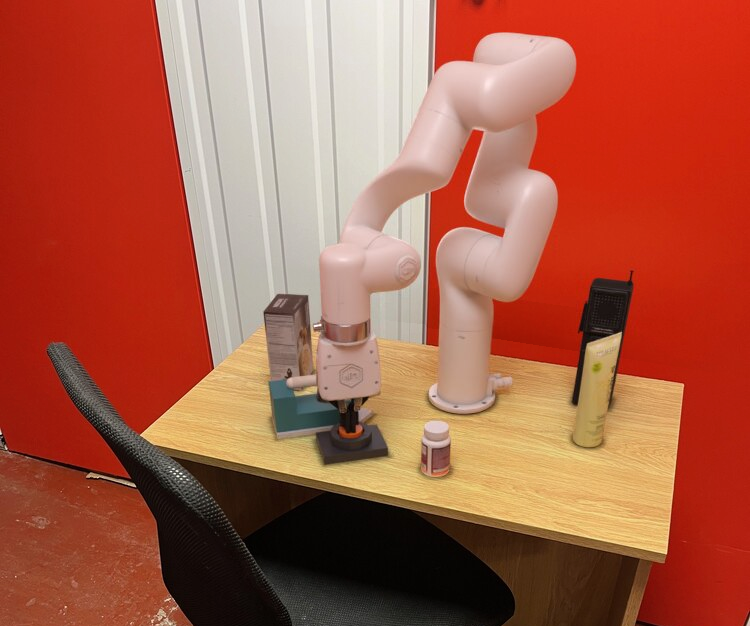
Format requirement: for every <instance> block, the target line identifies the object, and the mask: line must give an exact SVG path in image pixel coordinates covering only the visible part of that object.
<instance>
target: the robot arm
mask: <svg viewBox="0 0 750 626" xmlns="http://www.w3.org/2000/svg"><path fill="white" fill-rule="evenodd" d="M576 72H577V58H576V53H575V52H574V49H573V48H572V46H571V45H570V44H569V43H568V42H567V41H565V40H564V39H562V38H559V37H555V36H554V37H553V36H545V35H536V34H535V35H534V34H525V33H520V32H519V33H517V32H494V33H490V34H487V35H485V36H484V37H482V38H481V39H480V40H479V42H478V43H477V45H476V47H475V50H474V53H473V58H472V61H467V60H454V61H453V60H452V61H449V62H445V63H444V64H442V65H441V66H439V68H438V69H437V70H436V71H435V73H434V75H433V76H432V79H431V81H430V83H429V86H427V87H428V88H427V90H426V92H425V95H424V97H423V99H422V101H421V104H420V106H419V108H418V111H417V113H416V115H415V118H414V120H413V123H412V125H411V127H410V129H409V132H408V134H407V136H406V138H405V141H404V143H403V146H402V147H401V150H400V152H399V154H398V156H397V157H396V158H395V160H393V162H392V163H391V164H389V165H388V166H387V167H386V168H384V169H383V170H382V171H381V172H379V174H377V176H376V177H374V178H373V179H372V181H370V182H369V183H368V184H367V185H366V186H365V188H364V189H362V191H361V192H360V193H359V195H358V196H357V198H356V199H355V201H354V203H353V205H352V207H351V209H350V211H349V213H348V215H347V218H346V220H345V222H344V224H343V228H342V230H341V233H340V237H339V240H338V243H336V244H331V245H328V246H326V247H325V248H324V249H322V251H321V252H320V254H319V258H318V266H319V284H320V285H319V286H320V306H321V307H320V309H321V316H320V319H319V321H317V322H314V323H312V331H313V333H320V334H319V335H318V339H317V344H316V354H315V356H316V358H315V375H316V383H317V386H316V387H317V389H316V393H315V394H316V399H317V402H319V403H327V404H328V403H331V404H332V405H333V406H334V407H336V408H337V409H338V410H339V417H340V426H341V427H344V429H345V431H346V434H347V433H350V432H353V433H355V432H356V425H359V411H360V409H361V408H362V407H363V405H365V403H366V402H367V401H368V400H369V399H373V398H376V397H378V396H380V395H381V394H382V393H381V389H382V372H381V371H382V370H381V359H380V351H379V345H378V339H377V335H376V333H374V331H373V330H372V328H371V323H372V322H371V321H372V320H371V295H372V294H374V293H375V294H377V293H387V292H396V291H400V290H404V289H406V288H407V287H409V286H411V285H412V284H413V283H414V282H415V281H416V280H417V278H418V277H419V275H420V272H421V268H422V259H421V255H420V253H419V251H418V250H417V249H416V248H415V246H414V245H412V244H411V243H409V242H407V241H405V240H403V239H401V238H399V237H395V236H392V235H390V234H387V233H384V232H383V229H384V228H385V225H386V223H387V222H388V220H389V219H390V217H391V216H392V214H393V213H395V211H396V210H398V209H399V207H400V206H402V205H403V204H405V203H406V202H408V201H409V200H412V199H414V198H417V197H419V196H423V195H425V194H429V193H431V192H434V191H437V190H439V189H442V188H444V187H446V186H447V185H448V184H449V183H450V181H451V179H452V178H453V175H454V172H455V170H456V169H457V166H458V163H459V161H460V159H461V157H462V154H463V152H464V150H465V148H466V145H467V143H468V142H469V139H470V137H471V135H472V133H473V131H474V130H475V131H482V132H483V134H482V137H481V141H480V144H479V147H478V149H477V154H476V157H475V160H474V164H473V166H472V170H471V173H470V176H469V178H468V183H467V185H466V189H465V194H464V198H463V199H464V200H463V203H464V208H465V209H464V210H465V211H466V213H467V214H468V215H470V216H471V217H472V218H473V219H475V220H477V221H480V222H482V223H485V224H487V225H492V226H494V227H497V228H500V229H504V233H503V236H499V235H496V234H494V233H490V232H487V231H484V230H481V229H477V228H473V227H468V226H467V227H466V226H461V227H456V228H453V229H451V230H449V231H447V233H445V234H444V235H443V236H442V237H441V239H440V242H439V243H438V245H437V249H436V253H435V268H436V275H437V280H438V287H439V325H438V326H439V327H438V328H439V329H438V350H437V357H438V358H437V375H436V377H437V378H436V382H435V383H433V384H432V385H431V386H430V387H429V389H428V400H429V401H430V403H431V404H432V405H433V407H435V408H437V409H439V410H440V411H444V412H446V413H447V412H448V413H452V414H459V415H468V414H475V413H480V412H482V411H485V410H488V409H489V408H490V407H492V406H493V404H495V401H496V391H497V390H498V389H505V388H512V387H513V385H514V384H513V383H514V380H513V378H512V376H505V377H503V376H502V373H501V372H497V373H492V374H490V362H491V353H492V352H491V351H492V339H493V328H494V327H493V325H494V315H495V311H494V308H495V307H494V302H493V300H496V301H499V302H502V303H511V302H514V301H517V300H518V299H520V298H521V297H523V295H524V294H525V293H526V292H527V290H528V289H529V287H530V285H531V283H532V281H533V278H534V276H535V273H536V271H537V268H538V266H539V262H540V261H541V257H542V255H543V252H544V249H545V247H546V244H547V241H548V238H549V236H550V232H551V230H552V227H553V226H554V225H553V224H554V221H555V220H556V219H555V218H556V215H557V211H558V203H559V195H558V189H557V186H556V183H555V181H554V180H553V179H552V178H551V176H549V175H548V174H546V173H544V172H542V171H539V170H535V169H531V168H529V166H530V162H531V160H532V159H531V158H532V155H533V152H534V149H535V145H536V142H537V137H538V122H537V116H536V115H538V114H540V113H542V112H543V111H545V110H547V109H548V108H551V107H552V106H553V105H555V104H556V103H558V102H559V101H560V100H561V99H563V98H564V96H565V95H566V94H567V93H568V91H569V89H570V88H571V86H572V85H573V83H574V79H575V77H576ZM345 399H351V400H350V401H351V402H350V403H349V405H348V407H347V404H346V402H345Z"/></svg>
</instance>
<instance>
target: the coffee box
mask: <svg viewBox="0 0 750 626" xmlns="http://www.w3.org/2000/svg"><path fill="white" fill-rule="evenodd" d="M262 314H263V322H264V329H265V330H264V331H265V341H266V349H267V359H268V365H269V366H268V368H269V375H270V376H269V377H270V381H277V380H285V379H289V378H291V377H299V376H307V375H312V374H313V371H314V357H313V356H314V355H313V344H312V343H313V342H312V341H313V340H312V327H311V315H310V302H309V295H308V294H295V293H294V294H293V293H292V294H291V293H277V294H276V295H275V296H274V298H273V299H272V300H271V301H270V303H269V304H268V305H267V307H266V308H265V309H263V312H262ZM302 390H303V388H296V389H293V391H302Z"/></svg>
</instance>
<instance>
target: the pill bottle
mask: <svg viewBox="0 0 750 626" xmlns="http://www.w3.org/2000/svg"><path fill="white" fill-rule="evenodd" d="M449 434H450V425H449V424H448V422H445V421H443V420H439V419H438V420H437V419H435V420H430V421H427V422H426V423H424V426H423V435H422V436H421V438H420V471H421V472H422V474H424V475H425V476H426V477H430V478H442V477H444V476H446V475H447V474H449V471H450V466H451V447H452V446H451V445H452V439H451V436H450V435H449Z"/></svg>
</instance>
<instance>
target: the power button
mask: <svg viewBox="0 0 750 626" xmlns="http://www.w3.org/2000/svg"><path fill="white" fill-rule="evenodd" d="M339 435H340V436H342V437H344V438H357V437H359V436H361V435H363V428H362V426H361V425H360V424H359V425H356V432H355V433H353V432H350V433H347V434H346V431H345V429H344V427H341V426H340V427H339Z"/></svg>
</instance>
